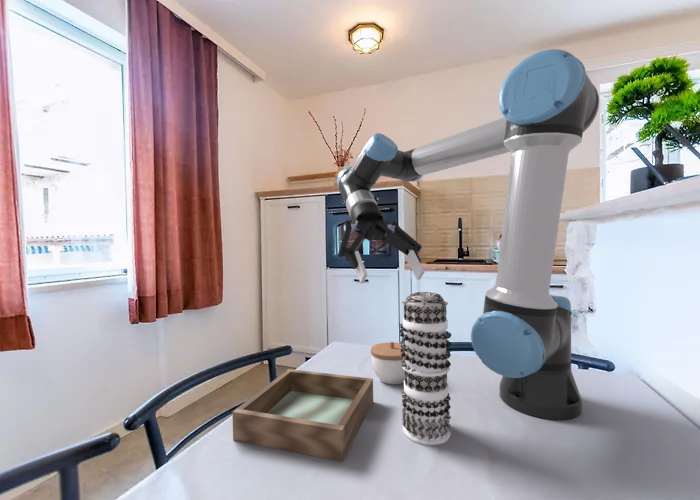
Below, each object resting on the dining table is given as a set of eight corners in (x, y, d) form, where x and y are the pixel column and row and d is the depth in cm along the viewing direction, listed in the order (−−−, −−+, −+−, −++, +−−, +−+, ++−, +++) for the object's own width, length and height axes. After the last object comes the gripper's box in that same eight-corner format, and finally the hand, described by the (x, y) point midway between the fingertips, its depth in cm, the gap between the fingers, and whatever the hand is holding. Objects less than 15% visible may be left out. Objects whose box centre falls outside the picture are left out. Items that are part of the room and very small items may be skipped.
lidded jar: (413, 390, 76) (413, 350, 76) (368, 386, 79) (367, 347, 78) (414, 372, 87) (413, 337, 87) (373, 369, 89) (373, 335, 89)
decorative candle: (390, 432, 59) (388, 294, 59) (416, 412, 66) (415, 289, 66) (436, 454, 53) (435, 300, 53) (460, 429, 60) (459, 293, 60)
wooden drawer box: (373, 401, 71) (372, 378, 71) (342, 461, 52) (341, 430, 52) (288, 390, 77) (288, 369, 77) (233, 439, 58) (232, 411, 58)
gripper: (402, 223, 90) (435, 285, 76) (313, 222, 81) (333, 291, 67) (412, 202, 85) (450, 263, 71) (319, 198, 76) (342, 267, 62)
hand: (393, 277), depth 69 cm, fingers open, 13 cm apart
